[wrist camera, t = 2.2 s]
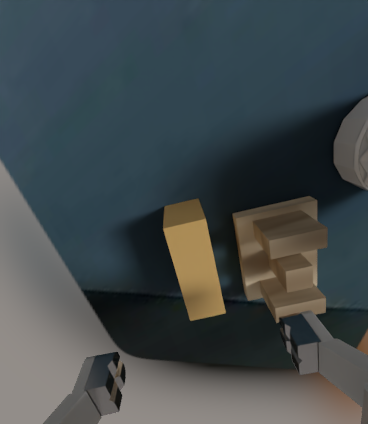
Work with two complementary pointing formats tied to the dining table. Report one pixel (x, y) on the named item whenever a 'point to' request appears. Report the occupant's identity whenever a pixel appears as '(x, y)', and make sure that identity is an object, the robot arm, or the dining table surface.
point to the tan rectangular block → (193, 258)
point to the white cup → (353, 146)
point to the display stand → (282, 255)
